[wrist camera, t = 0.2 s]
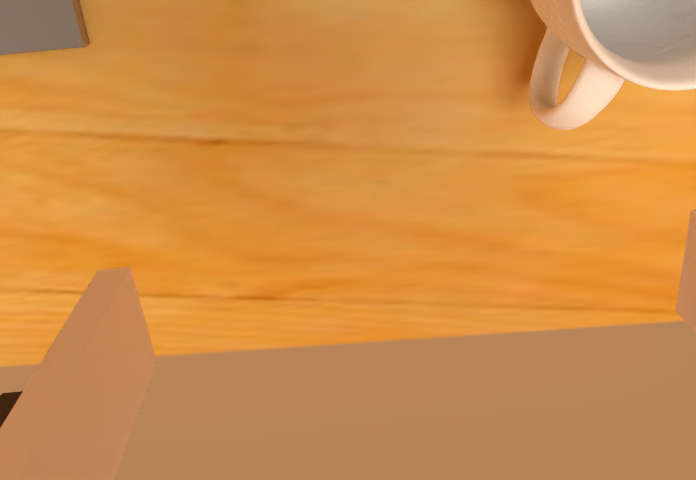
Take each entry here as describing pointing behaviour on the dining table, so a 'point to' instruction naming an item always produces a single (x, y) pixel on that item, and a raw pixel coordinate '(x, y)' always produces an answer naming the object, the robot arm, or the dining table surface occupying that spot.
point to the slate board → (40, 25)
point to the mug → (610, 53)
